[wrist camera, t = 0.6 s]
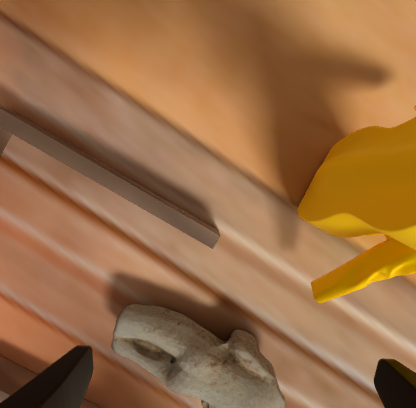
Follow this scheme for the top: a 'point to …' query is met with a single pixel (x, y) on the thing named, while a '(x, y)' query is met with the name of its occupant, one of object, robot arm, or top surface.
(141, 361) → the sculpture
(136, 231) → the top surface
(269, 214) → the top surface
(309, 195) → the figure statuette
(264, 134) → the top surface
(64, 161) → the holder
